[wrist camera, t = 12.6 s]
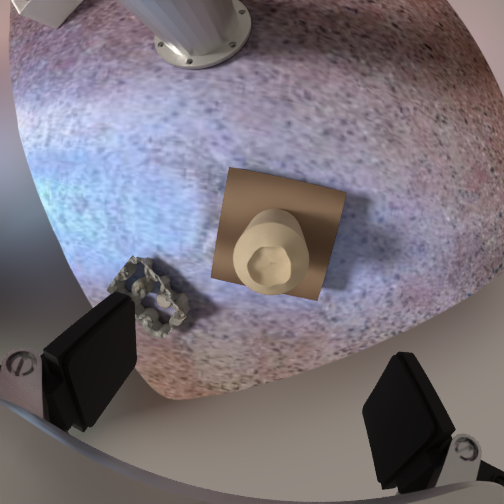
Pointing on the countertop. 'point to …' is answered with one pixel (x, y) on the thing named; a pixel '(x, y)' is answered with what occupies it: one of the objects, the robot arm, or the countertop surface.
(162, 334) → the egg carton
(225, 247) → the plinth
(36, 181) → the countertop surface
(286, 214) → the candle
